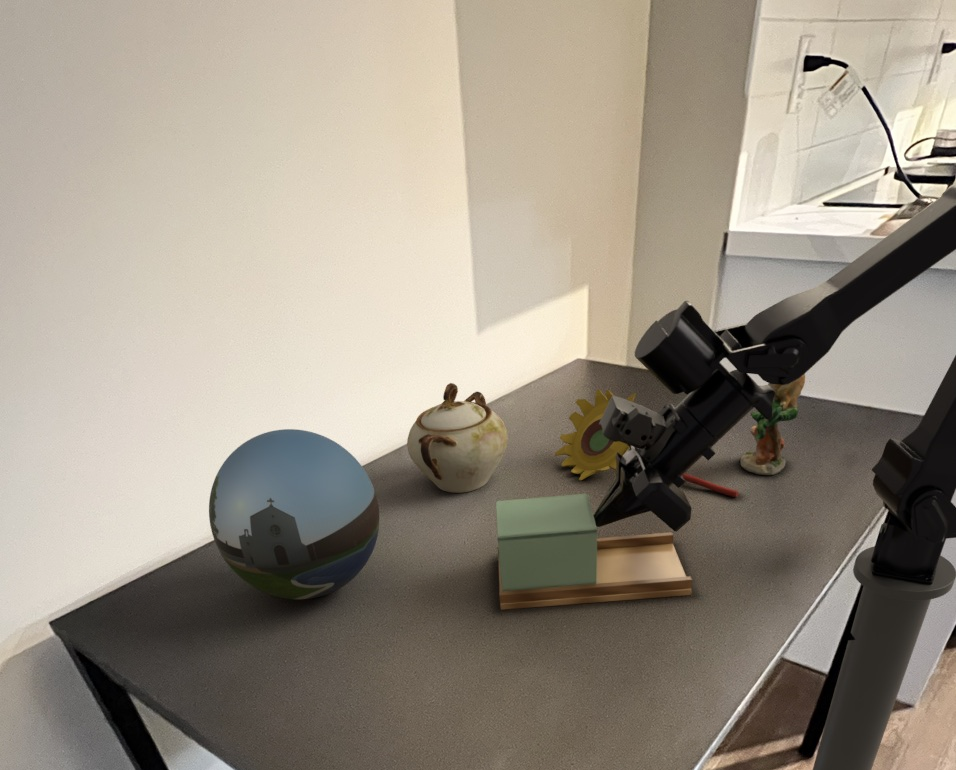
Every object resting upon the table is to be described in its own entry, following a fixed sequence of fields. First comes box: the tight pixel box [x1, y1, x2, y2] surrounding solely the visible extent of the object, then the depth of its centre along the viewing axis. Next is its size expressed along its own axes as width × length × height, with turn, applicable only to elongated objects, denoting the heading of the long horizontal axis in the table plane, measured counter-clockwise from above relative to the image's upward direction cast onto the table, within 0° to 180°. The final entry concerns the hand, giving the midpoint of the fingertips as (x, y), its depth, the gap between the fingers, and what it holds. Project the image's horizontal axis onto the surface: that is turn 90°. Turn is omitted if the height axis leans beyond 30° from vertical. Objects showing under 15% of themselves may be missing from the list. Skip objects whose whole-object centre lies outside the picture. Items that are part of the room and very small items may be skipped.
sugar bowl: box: [406, 382, 509, 494], centre depth 110 cm, size 20×15×15 cm
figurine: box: [740, 373, 806, 476], centre depth 104 cm, size 9×8×15 cm
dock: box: [497, 531, 693, 611], centre depth 90 cm, size 22×12×2 cm, turn 90°
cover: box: [495, 492, 598, 591], centre depth 88 cm, size 11×9×8 cm
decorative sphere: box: [208, 428, 380, 600], centre depth 88 cm, size 20×20×20 cm
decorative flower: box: [554, 388, 740, 498], centre depth 108 cm, size 13×8×30 cm
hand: (594, 523), depth 86 cm, fingers closed
